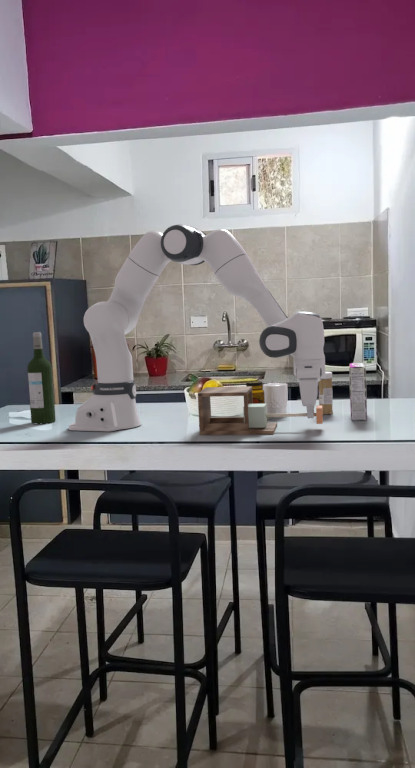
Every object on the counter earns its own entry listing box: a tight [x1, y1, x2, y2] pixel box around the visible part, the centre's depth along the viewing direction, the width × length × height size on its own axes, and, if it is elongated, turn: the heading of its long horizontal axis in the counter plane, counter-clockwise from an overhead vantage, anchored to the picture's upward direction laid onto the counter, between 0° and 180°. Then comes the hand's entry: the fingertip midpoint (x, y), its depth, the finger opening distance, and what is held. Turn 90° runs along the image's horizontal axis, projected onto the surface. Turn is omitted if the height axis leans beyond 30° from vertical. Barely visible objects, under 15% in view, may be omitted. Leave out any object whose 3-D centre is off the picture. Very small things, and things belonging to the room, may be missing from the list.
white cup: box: [263, 382, 288, 414], centre depth 226 cm, size 8×8×10 cm
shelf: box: [197, 386, 278, 436], centre depth 202 cm, size 21×13×12 cm, turn 80°
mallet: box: [242, 404, 324, 428], centre depth 200 cm, size 22×6×6 cm, turn 80°
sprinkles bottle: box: [318, 371, 334, 415], centre depth 224 cm, size 5×5×14 cm
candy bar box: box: [348, 362, 368, 421], centre depth 214 cm, size 11×5×16 cm, turn 168°
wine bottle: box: [26, 331, 56, 425], centre depth 232 cm, size 8×8×30 cm
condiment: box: [245, 380, 270, 421], centre depth 220 cm, size 7×8×12 cm
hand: (310, 417), depth 199 cm, fingers closed on mallet
